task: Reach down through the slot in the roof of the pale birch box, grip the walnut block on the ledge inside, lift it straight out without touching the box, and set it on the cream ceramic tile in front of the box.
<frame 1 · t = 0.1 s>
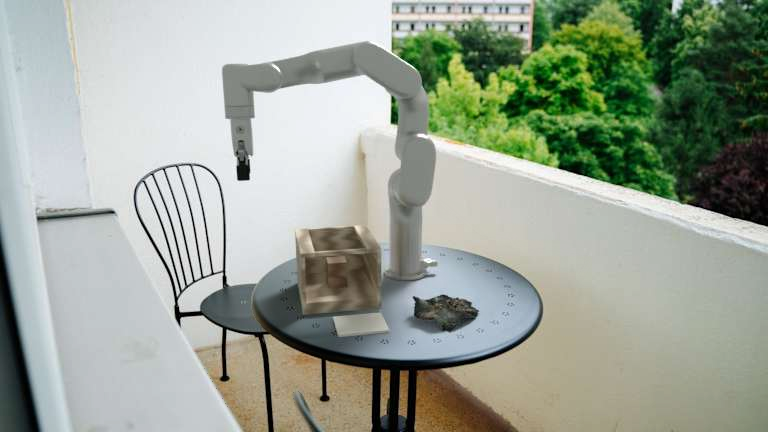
hand: (244, 176, 156), 31 cm above the table, tool pointing down, fingers open, 9 cm apart
walnut block: (336, 284, 156), point 3 cm above the table, touching slot box
tile pad: (360, 325, 139), on the table
decorative rock: (445, 316, 145), on the table
slot box: (337, 294, 157), on the table
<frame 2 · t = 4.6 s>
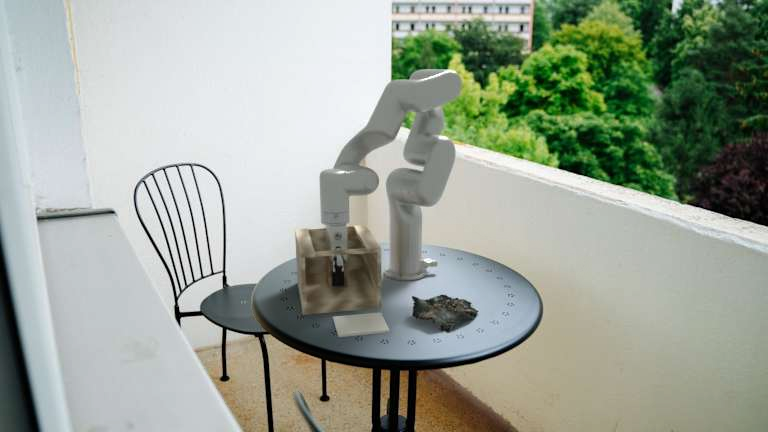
hand: (336, 281, 156), 4 cm above the table, tool pointing down, fingers closed on walnut block, 5 cm apart
walnut block: (336, 284, 156), point 3 cm above the table, touching gripper, slot box
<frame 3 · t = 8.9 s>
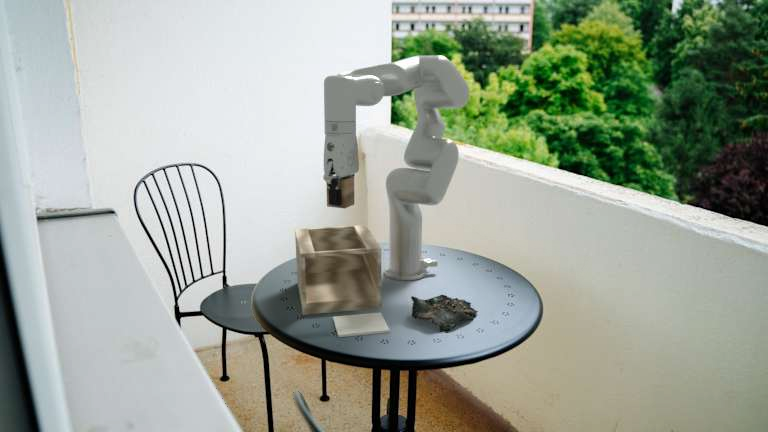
hand: (341, 201, 143), 28 cm above the table, tool pointing down, fingers closed on walnut block, 5 cm apart
walnut block: (340, 205, 143), point 27 cm above the table, touching gripper
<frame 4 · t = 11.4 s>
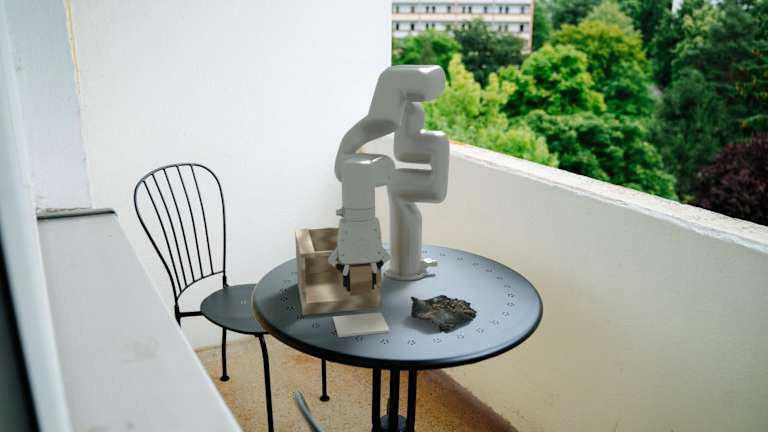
hand: (359, 287, 136), 10 cm above the table, tool pointing down, fingers closed on walnut block, 5 cm apart
walnut block: (359, 291, 136), point 9 cm above the table, touching gripper
when the fingers open (3 cm above the table, at t = 13.2 s): walnut block drops 1 cm, resting on tile pad.
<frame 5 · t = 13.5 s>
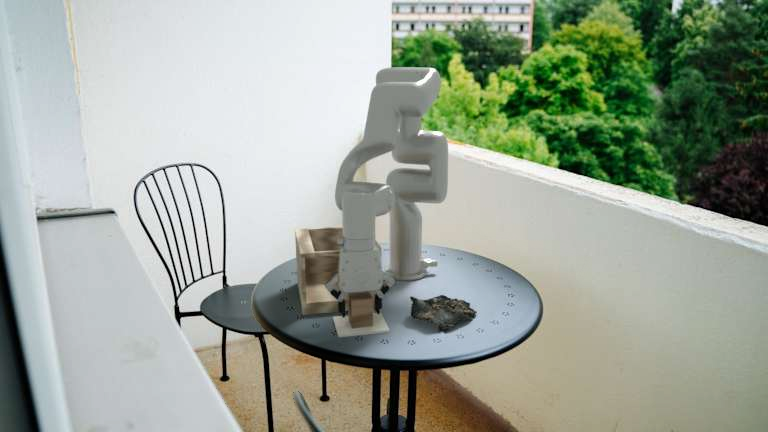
hand: (360, 313, 138), 3 cm above the table, tool pointing down, fingers open, 7 cm apart
walnut block: (360, 322, 139), point 1 cm above the table, touching tile pad
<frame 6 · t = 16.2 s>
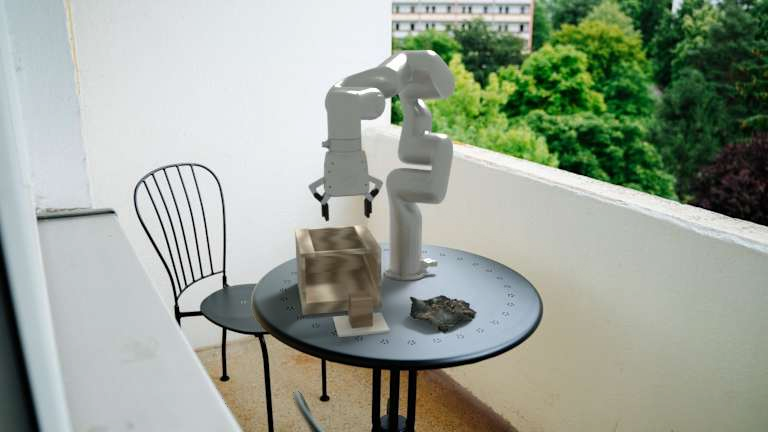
hand: (347, 218, 136), 25 cm above the table, tool pointing down, fingers open, 9 cm apart
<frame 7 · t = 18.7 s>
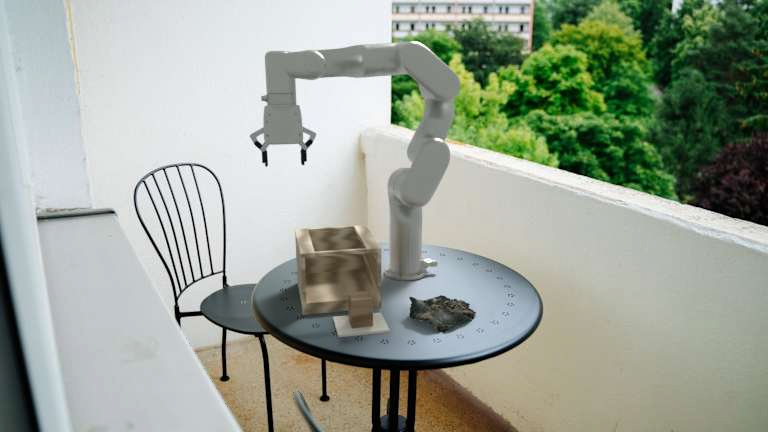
hand: (284, 165, 155), 34 cm above the table, tool pointing down, fingers open, 9 cm apart
at the end: walnut block inside the target area on the tile pad (0.1 cm from its centre), point 0.6 cm above the tile pad's base; walnut block touching tile pad; the gripper is holding nothing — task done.
